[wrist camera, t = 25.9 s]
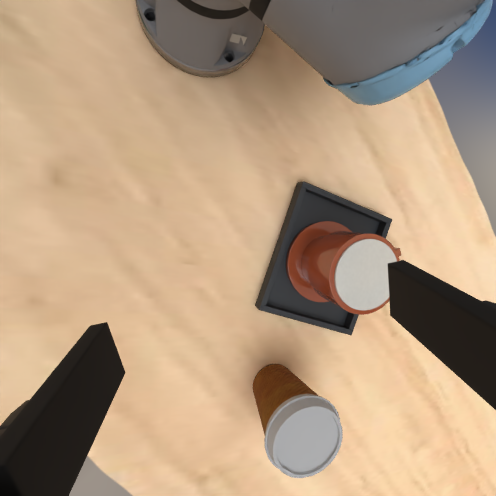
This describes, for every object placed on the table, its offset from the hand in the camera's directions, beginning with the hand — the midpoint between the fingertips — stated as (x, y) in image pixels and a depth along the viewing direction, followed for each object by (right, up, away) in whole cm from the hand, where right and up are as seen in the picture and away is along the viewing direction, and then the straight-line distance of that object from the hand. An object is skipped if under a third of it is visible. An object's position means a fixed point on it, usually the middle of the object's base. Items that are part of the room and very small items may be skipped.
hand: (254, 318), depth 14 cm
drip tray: (+11, +1, +31) cm, 33 cm away
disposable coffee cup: (+3, -17, +31) cm, 36 cm away
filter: (+11, +1, +31) cm, 32 cm away
